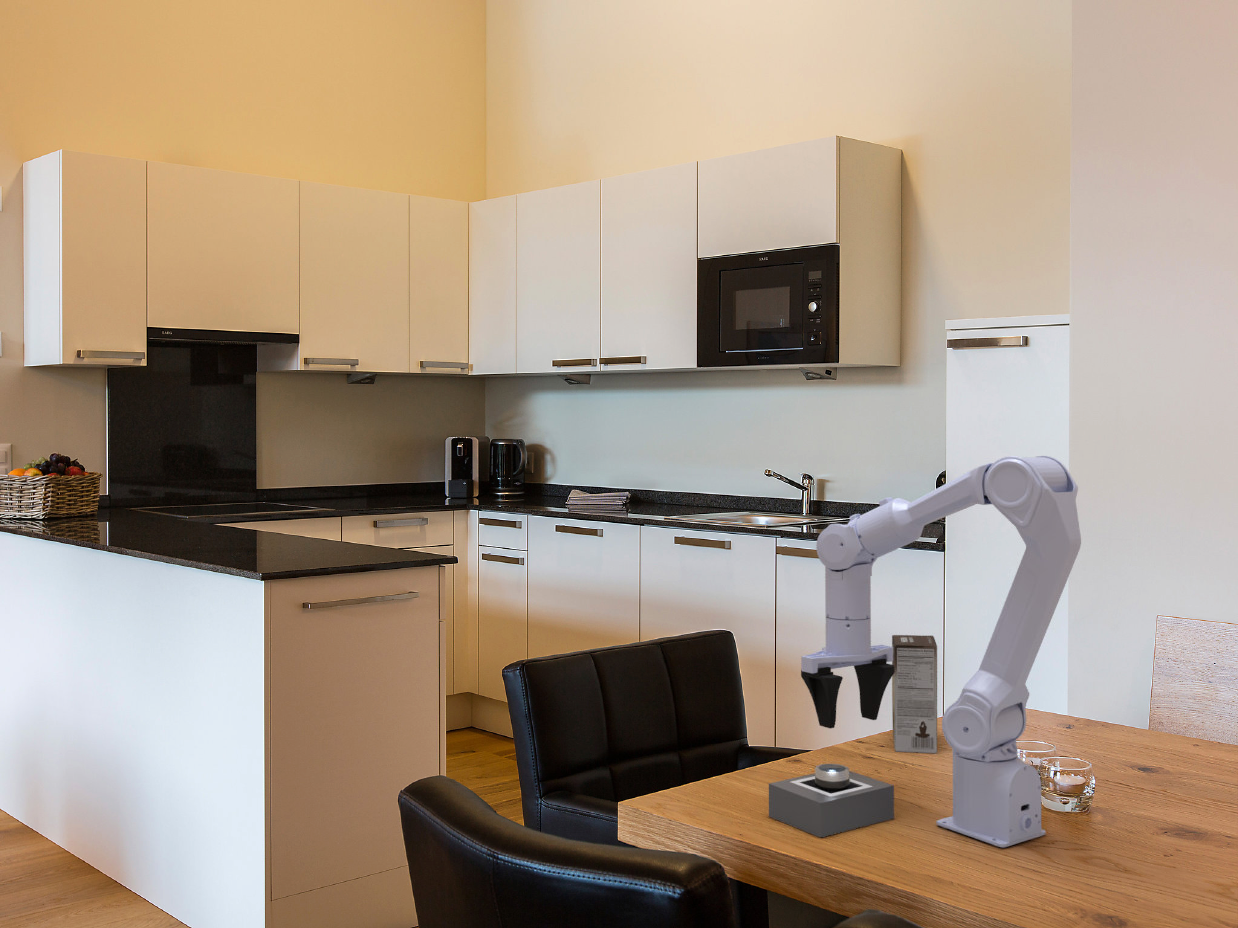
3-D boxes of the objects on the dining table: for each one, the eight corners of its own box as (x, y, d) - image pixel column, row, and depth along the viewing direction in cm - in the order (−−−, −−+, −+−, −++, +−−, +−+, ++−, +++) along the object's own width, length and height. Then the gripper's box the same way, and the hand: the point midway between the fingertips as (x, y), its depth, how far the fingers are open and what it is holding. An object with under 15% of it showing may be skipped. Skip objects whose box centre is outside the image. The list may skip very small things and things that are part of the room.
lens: (857, 819, 130) (856, 769, 130) (830, 825, 128) (829, 774, 128) (835, 809, 133) (834, 761, 133) (808, 815, 132) (807, 766, 131)
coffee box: (891, 736, 169) (891, 633, 169) (933, 738, 167) (933, 634, 167) (894, 752, 160) (893, 643, 160) (939, 754, 158) (938, 645, 158)
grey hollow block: (894, 818, 130) (893, 784, 130) (821, 837, 124) (820, 802, 124) (840, 798, 138) (840, 767, 138) (768, 816, 131) (768, 782, 131)
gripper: (865, 609, 146) (865, 708, 147) (784, 618, 139) (785, 723, 139) (905, 615, 141) (905, 719, 141) (823, 625, 133) (823, 735, 133)
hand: (848, 722), depth 139 cm, fingers open, 7 cm apart
